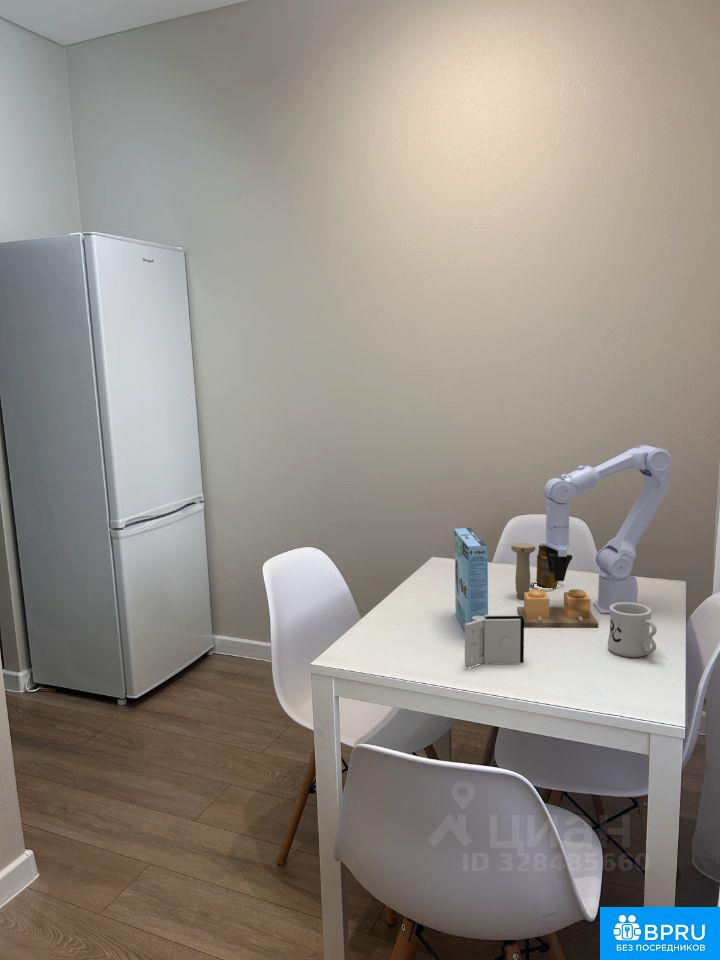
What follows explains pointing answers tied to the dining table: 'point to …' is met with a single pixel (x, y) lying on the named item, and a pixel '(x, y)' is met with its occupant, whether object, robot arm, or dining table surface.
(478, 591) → the gum box
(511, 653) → the hinge
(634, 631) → the mug
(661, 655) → the dining table surface
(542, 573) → the condiment
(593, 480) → the robot arm
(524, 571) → the handle
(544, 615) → the cube with round boss
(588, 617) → the junction board
